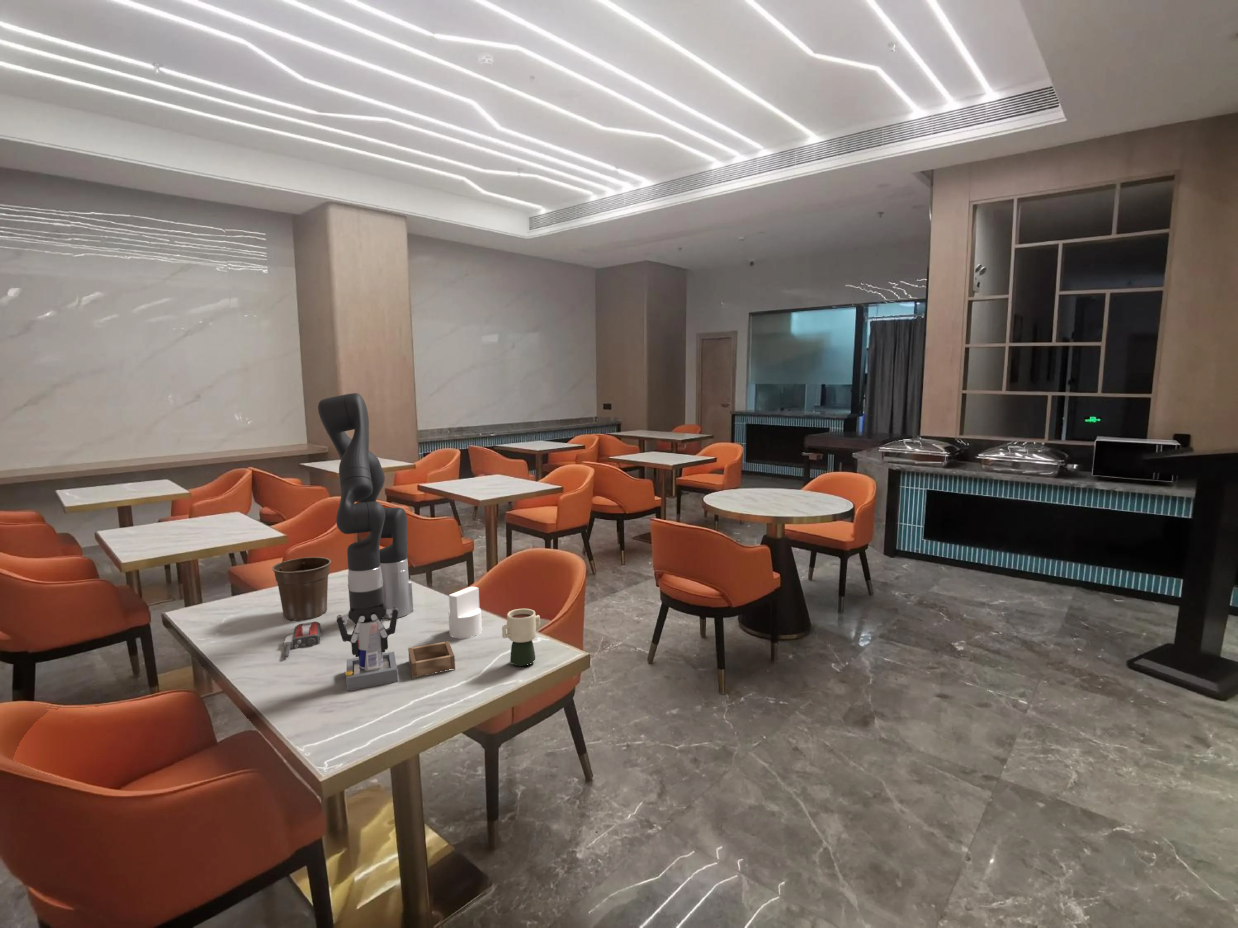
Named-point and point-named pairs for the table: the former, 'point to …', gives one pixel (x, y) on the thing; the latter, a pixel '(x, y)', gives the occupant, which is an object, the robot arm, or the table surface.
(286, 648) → the walkie-talkie
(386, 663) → the pad
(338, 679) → the table surface
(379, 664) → the energy drink
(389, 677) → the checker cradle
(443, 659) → the walnut holder
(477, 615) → the base with upright slab
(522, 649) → the character mug
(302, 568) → the plant pot
